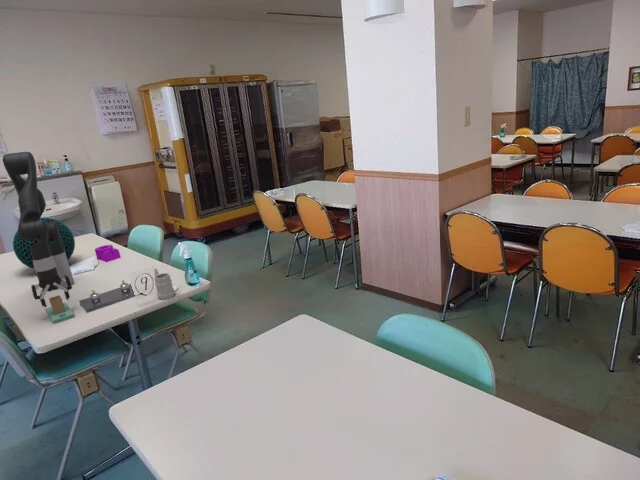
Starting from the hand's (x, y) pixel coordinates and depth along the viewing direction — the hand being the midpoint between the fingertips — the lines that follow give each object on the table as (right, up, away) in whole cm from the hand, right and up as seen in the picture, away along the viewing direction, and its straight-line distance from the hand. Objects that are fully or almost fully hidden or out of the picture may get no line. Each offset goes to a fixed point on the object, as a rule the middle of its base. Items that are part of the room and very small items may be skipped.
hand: (56, 303), depth 192 cm
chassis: (+18, 0, +13) cm, 22 cm away
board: (0, -5, +2) cm, 6 cm away
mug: (+43, +2, +9) cm, 44 cm away
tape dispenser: (-14, +16, +76) cm, 79 cm away
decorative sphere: (-43, +10, +68) cm, 81 cm away
